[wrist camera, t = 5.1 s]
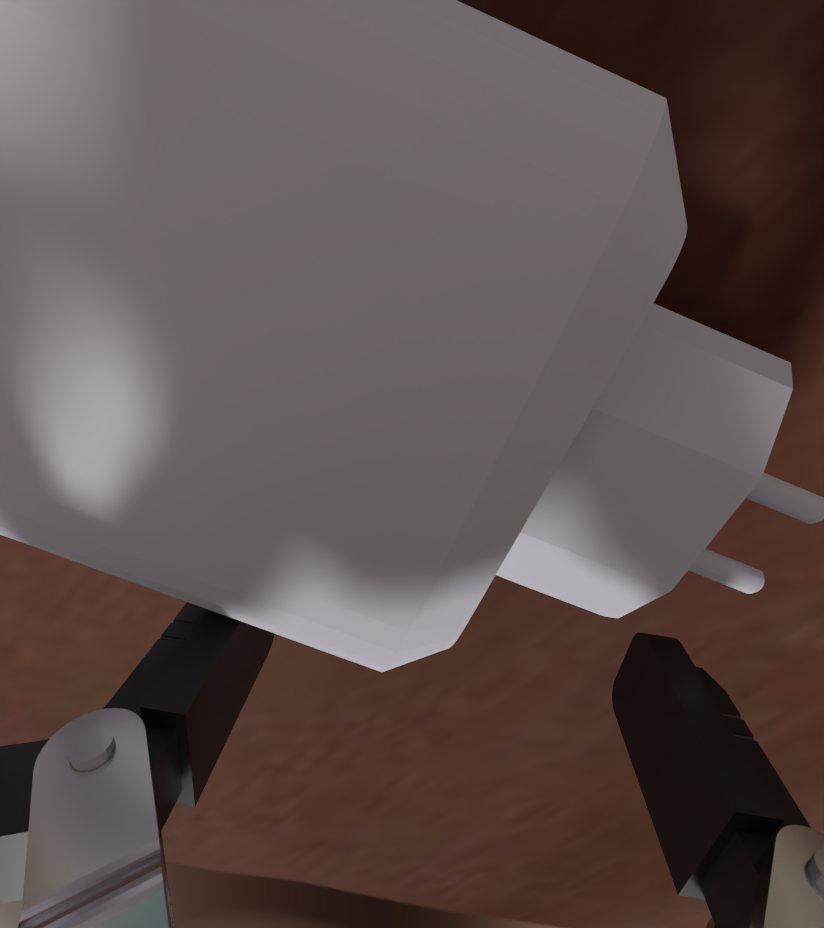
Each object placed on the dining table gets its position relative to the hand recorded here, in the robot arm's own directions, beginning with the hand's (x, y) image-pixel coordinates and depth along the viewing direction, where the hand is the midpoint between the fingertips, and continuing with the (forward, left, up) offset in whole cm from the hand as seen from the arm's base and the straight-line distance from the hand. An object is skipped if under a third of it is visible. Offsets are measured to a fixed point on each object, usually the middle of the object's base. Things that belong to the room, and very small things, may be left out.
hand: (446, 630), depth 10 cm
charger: (+1, -5, -3) cm, 6 cm away
